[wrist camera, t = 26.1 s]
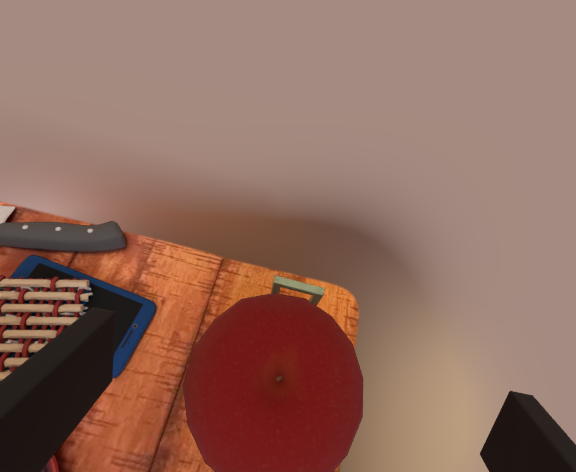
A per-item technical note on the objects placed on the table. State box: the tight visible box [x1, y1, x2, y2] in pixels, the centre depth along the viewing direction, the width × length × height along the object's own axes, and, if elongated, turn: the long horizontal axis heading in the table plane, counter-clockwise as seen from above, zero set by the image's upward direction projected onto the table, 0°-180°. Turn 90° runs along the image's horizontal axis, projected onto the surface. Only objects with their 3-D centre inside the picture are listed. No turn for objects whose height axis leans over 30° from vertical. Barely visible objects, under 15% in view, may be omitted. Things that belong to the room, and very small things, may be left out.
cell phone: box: [0, 255, 156, 378], centre depth 31 cm, size 7×14×1 cm, turn 70°
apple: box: [183, 293, 363, 472], centre depth 24 cm, size 12×12×13 cm
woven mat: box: [0, 275, 93, 381], centre depth 29 cm, size 10×11×2 cm
